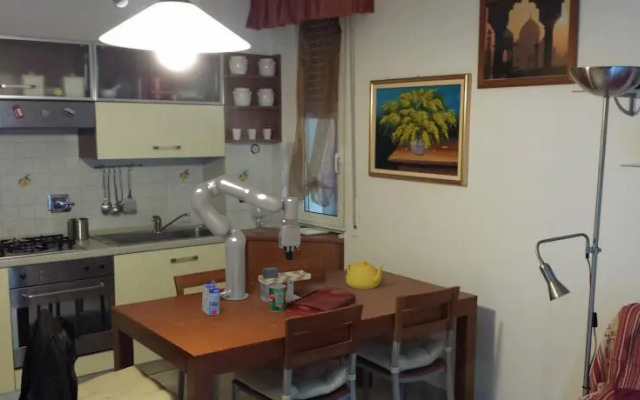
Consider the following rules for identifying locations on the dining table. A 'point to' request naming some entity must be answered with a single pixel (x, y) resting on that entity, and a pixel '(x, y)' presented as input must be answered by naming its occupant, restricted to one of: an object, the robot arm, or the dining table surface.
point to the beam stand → (289, 292)
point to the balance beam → (286, 277)
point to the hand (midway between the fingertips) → (288, 259)
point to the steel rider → (269, 272)
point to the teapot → (363, 275)
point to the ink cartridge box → (211, 299)
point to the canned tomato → (277, 297)
